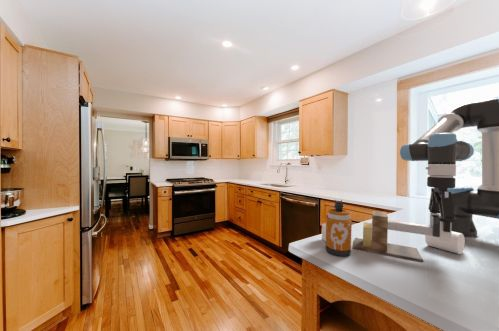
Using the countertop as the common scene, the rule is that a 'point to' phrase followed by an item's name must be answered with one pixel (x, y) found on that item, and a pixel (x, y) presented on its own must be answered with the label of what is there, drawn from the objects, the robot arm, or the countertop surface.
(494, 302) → the countertop surface
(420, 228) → the shaft
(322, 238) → the medicine bottle
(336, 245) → the canister
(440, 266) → the countertop surface
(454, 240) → the white rounded block
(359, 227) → the countertop surface
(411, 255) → the bracket
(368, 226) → the block
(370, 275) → the countertop surface
